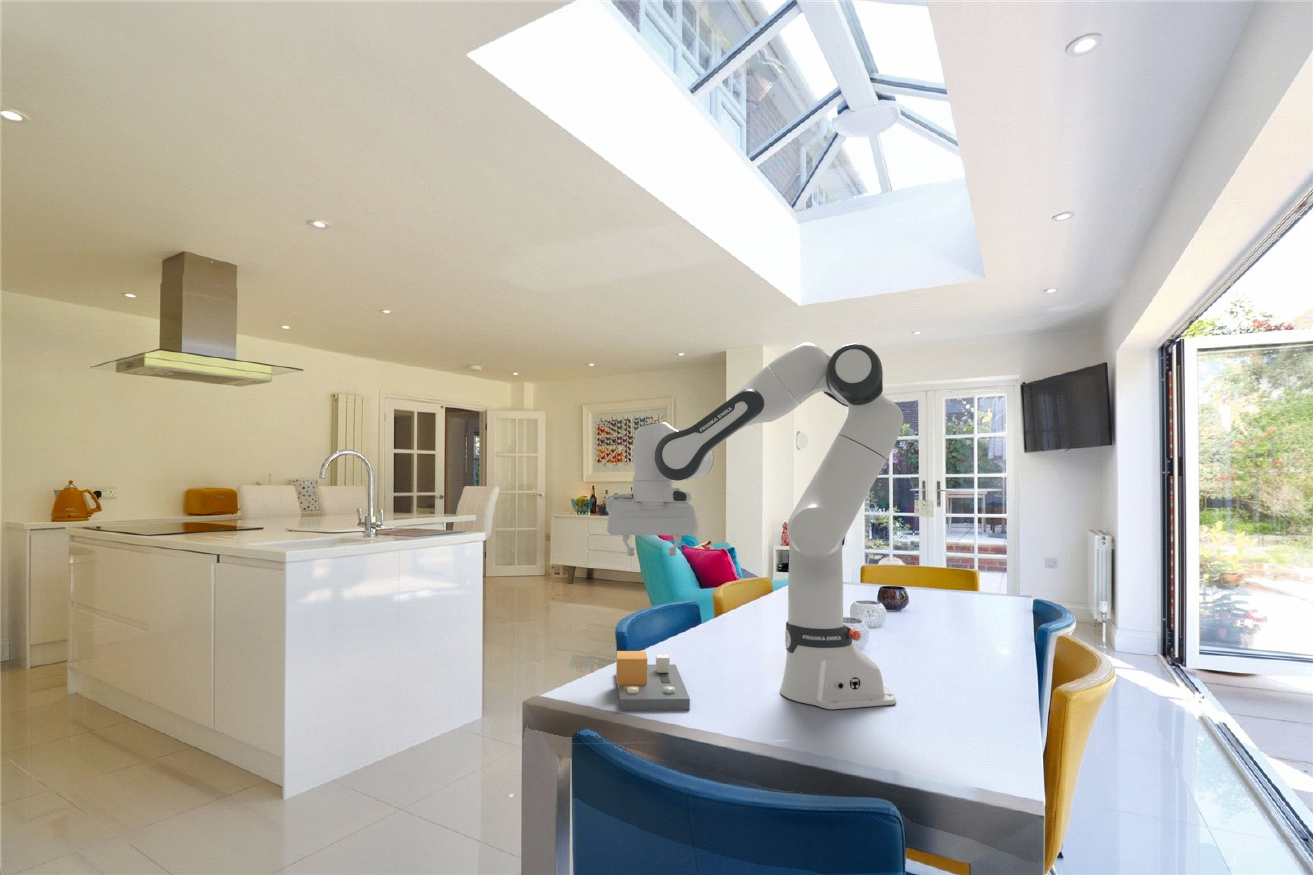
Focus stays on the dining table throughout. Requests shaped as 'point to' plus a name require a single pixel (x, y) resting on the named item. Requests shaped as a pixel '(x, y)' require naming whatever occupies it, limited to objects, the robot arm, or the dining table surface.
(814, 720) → the dining table surface
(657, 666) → the block
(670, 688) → the breaker panel
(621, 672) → the cap
